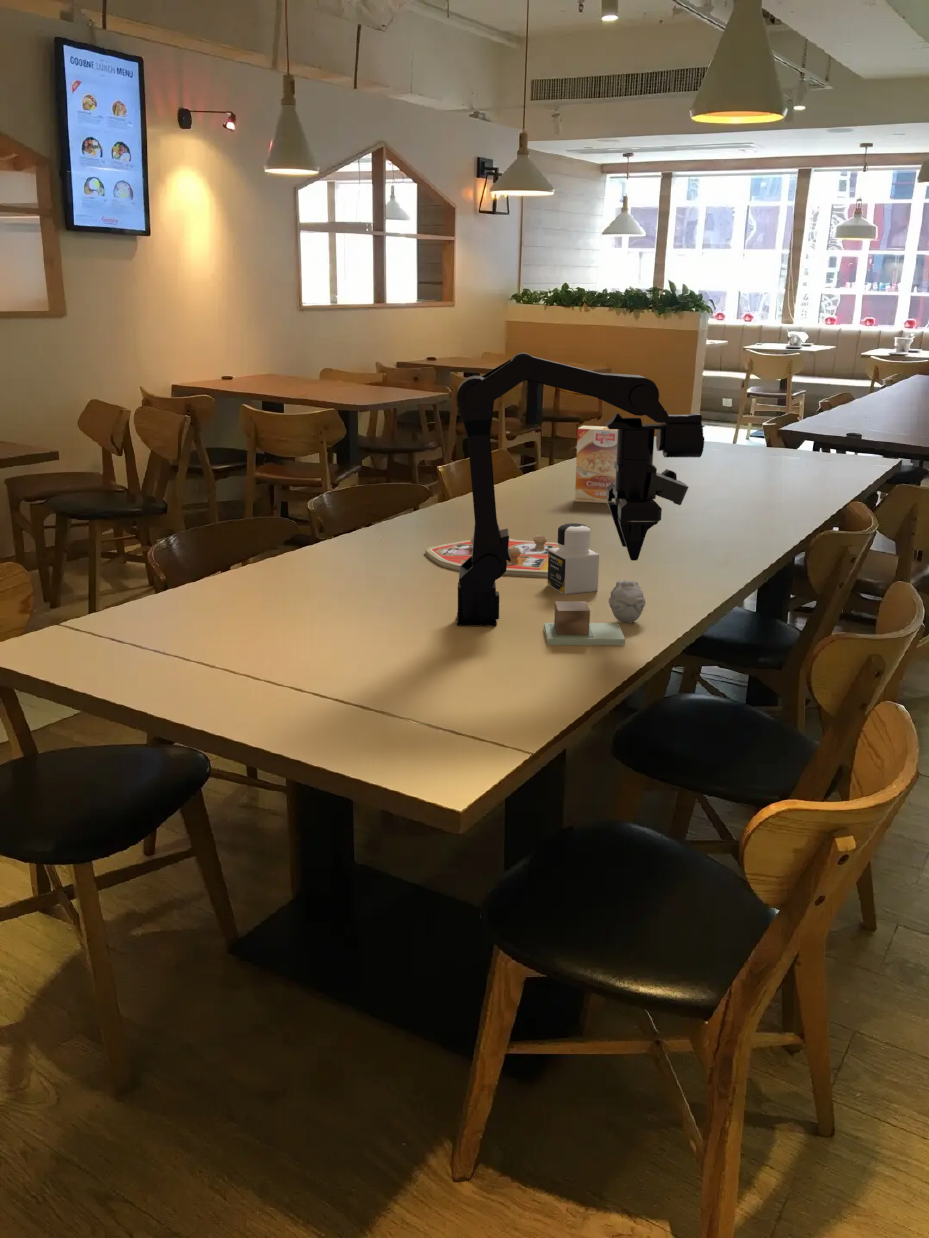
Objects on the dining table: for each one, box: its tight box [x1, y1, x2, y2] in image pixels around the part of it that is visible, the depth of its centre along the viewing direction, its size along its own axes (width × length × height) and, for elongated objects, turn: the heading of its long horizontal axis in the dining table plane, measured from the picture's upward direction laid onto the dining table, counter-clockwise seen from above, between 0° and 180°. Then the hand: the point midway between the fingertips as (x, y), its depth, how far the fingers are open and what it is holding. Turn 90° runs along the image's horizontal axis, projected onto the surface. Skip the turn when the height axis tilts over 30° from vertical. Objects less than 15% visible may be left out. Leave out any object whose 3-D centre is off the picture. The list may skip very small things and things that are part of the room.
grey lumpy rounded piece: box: [608, 579, 646, 624], centre depth 164 cm, size 6×7×7 cm
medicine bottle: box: [547, 522, 600, 596], centre depth 182 cm, size 7×7×12 cm
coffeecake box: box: [574, 425, 618, 504], centre depth 262 cm, size 15×7×20 cm, turn 73°
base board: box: [543, 622, 626, 646], centre depth 157 cm, size 12×8×1 cm, turn 90°
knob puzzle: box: [424, 534, 559, 579], centre depth 205 cm, size 29×30×4 cm
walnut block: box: [553, 600, 591, 635], centre depth 156 cm, size 5×5×4 cm
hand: (629, 553), depth 161 cm, fingers open, 9 cm apart
